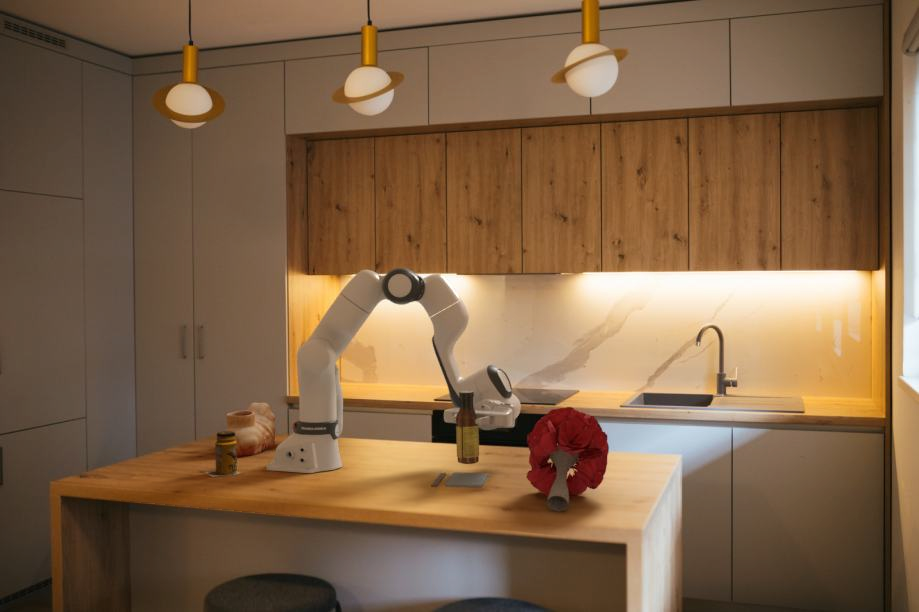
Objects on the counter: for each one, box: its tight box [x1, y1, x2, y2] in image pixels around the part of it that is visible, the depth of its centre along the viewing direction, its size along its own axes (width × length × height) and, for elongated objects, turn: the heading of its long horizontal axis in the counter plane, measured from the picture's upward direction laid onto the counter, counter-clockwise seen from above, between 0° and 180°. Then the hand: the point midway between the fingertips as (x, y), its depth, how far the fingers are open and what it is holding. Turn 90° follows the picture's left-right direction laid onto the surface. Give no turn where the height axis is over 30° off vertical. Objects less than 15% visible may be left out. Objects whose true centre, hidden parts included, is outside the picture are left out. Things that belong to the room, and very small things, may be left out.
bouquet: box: [526, 406, 610, 512], centre depth 221 cm, size 22×24×30 cm
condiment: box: [204, 430, 242, 478], centre depth 255 cm, size 7×8×12 cm
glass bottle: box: [335, 363, 344, 439], centre depth 306 cm, size 10×10×28 cm
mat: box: [444, 472, 489, 488], centre depth 244 cm, size 10×15×1 cm, turn 171°
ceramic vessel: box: [226, 402, 277, 458], centre depth 291 cm, size 14×26×15 cm, turn 167°
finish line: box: [430, 472, 447, 487], centre depth 245 cm, size 2×16×1 cm, turn 171°
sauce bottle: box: [455, 391, 480, 465], centre depth 243 cm, size 7×6×20 cm
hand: (465, 421), depth 243 cm, fingers closed on sauce bottle, 6 cm apart
